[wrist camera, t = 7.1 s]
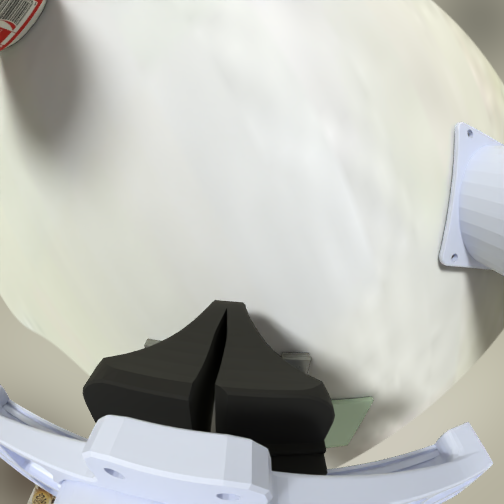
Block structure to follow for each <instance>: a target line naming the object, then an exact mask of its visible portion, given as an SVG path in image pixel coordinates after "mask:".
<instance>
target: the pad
mask: <svg viewBox="0 0 504 504" xmlns="http://www.w3.org/2000/svg"><path fill="white" fill-rule="evenodd" d="M331 401H332V404H333V408H334V412H335V418H334V422H333V424H332V426H331V428H330V430H329V432H328V434H327V436H326V438H325V440H324V441H325V446H326V448H330V447H339V446H346V445H348V444H349V442H350V440H351V439H352V437H353V436H354V434H355V432H356V431H357V429H358V427H359V426H360V424H361V422H362V421H363V419H364V417H365V415H366V413H367V412H368V410H369V408H370V406H371V404H372V402H373V401H374V400H373V398H372V397H364V398H354V399H343V400H331Z"/></svg>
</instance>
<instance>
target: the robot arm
mask: <svg viewBox="0 0 504 504" xmlns="http://www.w3.org/2000/svg"><path fill="white" fill-rule="evenodd" d="M467 132H468V133H469V136H468V133H467ZM453 254H454V256H453V258H452V255H453ZM451 258H452V259H451ZM439 261H440V262H441V263H442V264H443V265H445V266H454V267H466V268H478V269H490V270H494V271H496V272H497V273H499V274H501V275H503V276H504V145H503V144H501V143H500V142H498V141H496V140H495V139H493V138H491V137H490V136H488V135H486V134H484V133H483V132H481V131H479V130H477V129H475V128H474V127H472V126H470V125H468V124H466V123H464V122H459V123H457V124H456V125H455V146H454V164H453V176H452V186H451V194H450V201H449V208H448V214H447V220H446V226H445V231H444V236H443V241H442V245H441V250H440V254H439ZM83 396H84V399H85V402H86V404H87V407H88V409H89V411H90V412H91V415H92V417H93V419H94V421H95V422H96V425H95V426H94V428H93V430H92V433H91V435H90V436H89V439H87V438H84V437H82V436H79V435H77V434H75V433H72V432H70V431H68V430H66V429H63V428H61V427H59V426H57V425H55V424H53V423H51V422H49V421H47V420H45V419H43V418H41V417H39V416H37V415H35V414H34V413H32V412H30V411H28V410H27V409H25V408H23V407H21V406H20V405H18V404H17V403H15V402H13V401H12V400H10V399H9V397H8V395H7V393H6V391H5V390H4V388H3V387H2V386H1V385H0V457H1V458H2V459H3V460H4V461H5V462H7V463H8V464H9V465H10V466H12V467H13V468H14V469H16V470H17V471H18V472H20V473H21V474H22V475H24V476H25V477H26V478H28V479H29V480H31V481H32V482H33V483H35V484H36V485H38V486H39V487H41V488H42V489H44V490H46V491H47V492H49V493H50V494H52V495H54V496H55V497H56V499H55V501H54V503H53V504H441V503H443V502H445V501H447V500H449V499H451V498H453V497H454V496H456V495H457V494H459V493H460V492H461V491H462V490H464V489H465V488H466V487H467V486H469V485H470V484H471V483H472V482H474V481H475V480H476V479H477V478H478V477H479V476H481V475H482V474H483V473H484V472H485V471H486V470H487V469H488V468H489V467H491V466H492V464H493V462H492V460H491V458H490V457H489V455H488V453H487V451H486V450H485V448H484V446H483V444H482V443H481V441H480V439H479V438H478V436H477V435H476V433H475V431H474V430H473V428H472V427H471V425H470V424H469V422H466V423H464V424H462V425H459V426H457V427H454V428H451V429H450V430H448V431H446V432H445V433H444V434H443V435H442V436H441V437H440V438H439V439H438V440H437V442H436V444H434V445H431V446H428V447H425V448H422V449H419V450H416V451H413V452H409V453H406V454H403V455H399V456H395V457H392V458H387V459H383V460H379V461H375V462H370V463H365V464H360V465H354V466H348V467H342V468H334V469H327V467H326V462H325V457H324V453H325V452H326V446H325V441H324V440H325V438H326V436H327V434H328V432H329V430H330V428H331V426H332V424H333V422H334V418H335V412H334V408H333V404H332V401H331V398H330V396H329V394H328V392H327V390H326V388H325V386H324V384H323V382H322V381H320V380H318V379H315V378H313V377H311V376H309V375H307V374H305V373H303V372H302V371H300V370H298V369H297V368H295V367H294V366H292V365H291V364H289V363H288V362H286V361H285V360H284V359H283V358H281V357H280V356H279V355H278V354H277V353H275V352H274V351H273V350H272V349H271V347H270V346H269V345H268V344H267V343H266V342H265V340H264V339H263V338H262V337H261V335H260V334H259V332H258V331H257V329H256V328H255V326H254V324H253V322H252V321H251V319H250V317H249V315H248V312H247V310H246V306H245V304H244V303H243V302H230V301H219V300H215V301H213V302H212V303H211V304H210V305H209V306H208V307H207V308H206V309H205V310H204V311H203V312H202V313H201V314H200V315H199V316H198V317H197V318H196V319H195V320H194V321H192V322H191V323H190V324H189V325H187V326H186V327H185V328H183V329H182V330H181V331H179V332H178V333H176V334H174V335H173V336H171V337H169V338H167V339H165V340H163V341H161V342H159V343H156V344H154V345H152V346H149V347H147V348H144V349H141V350H138V351H134V352H131V353H127V354H123V355H117V356H112V357H106V358H103V359H102V361H101V362H100V363H99V364H98V366H97V367H96V368H95V370H94V372H93V373H92V375H91V376H90V378H89V379H88V381H87V382H86V384H85V386H84V387H83ZM214 402H215V428H216V433H211V425H212V417H213V409H214Z"/></svg>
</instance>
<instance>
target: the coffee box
mask: <svg viewBox="0 0 504 504" xmlns="http://www.w3.org/2000/svg"><path fill="white" fill-rule="evenodd" d="M55 499H56V497H55V496H54V495H52V494H50V493H49V492H47V491H46V490H44V489H42V488H41V487H39V486H38V485H36V486H35V488H34V490H33V492H32V494H31V496H30V498H29V501H28V503H27V504H53V503H54V501H55Z"/></svg>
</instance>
